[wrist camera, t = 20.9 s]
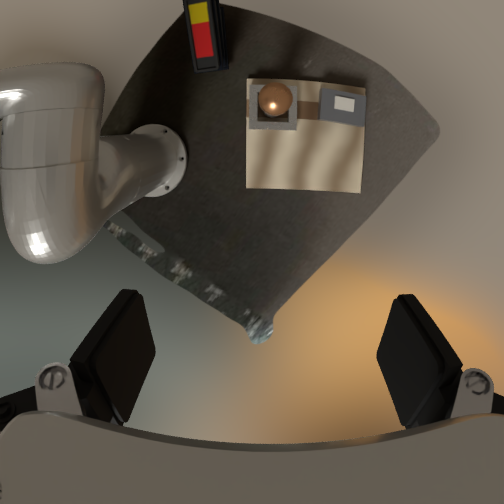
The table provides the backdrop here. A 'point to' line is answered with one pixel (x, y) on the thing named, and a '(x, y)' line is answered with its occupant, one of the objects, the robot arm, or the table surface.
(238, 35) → the table surface
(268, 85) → the awl
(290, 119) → the socket
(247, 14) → the table surface
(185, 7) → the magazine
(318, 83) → the board
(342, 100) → the block
